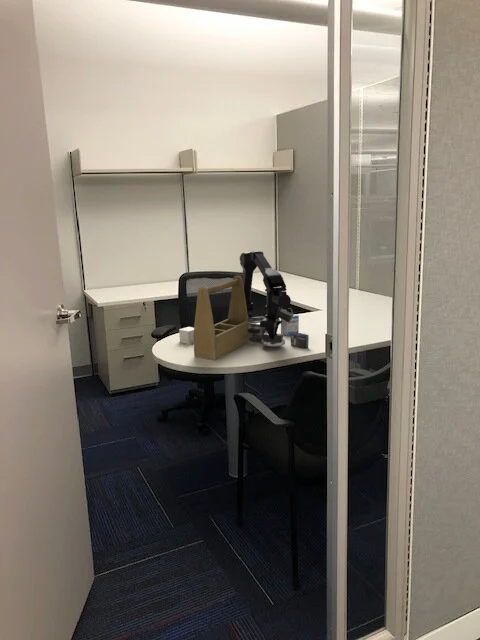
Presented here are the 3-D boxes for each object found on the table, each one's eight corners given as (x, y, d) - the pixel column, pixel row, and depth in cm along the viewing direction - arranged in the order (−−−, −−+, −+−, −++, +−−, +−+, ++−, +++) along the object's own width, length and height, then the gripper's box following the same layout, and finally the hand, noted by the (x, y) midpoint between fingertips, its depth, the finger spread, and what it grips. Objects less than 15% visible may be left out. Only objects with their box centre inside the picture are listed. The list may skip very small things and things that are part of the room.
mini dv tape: (290, 345, 225) (290, 332, 223) (292, 344, 226) (293, 331, 224) (306, 348, 219) (306, 335, 218) (308, 348, 220) (308, 334, 219)
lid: (257, 345, 218) (257, 336, 217) (265, 338, 228) (265, 330, 227) (281, 347, 215) (281, 338, 214) (287, 340, 224) (288, 332, 223)
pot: (239, 341, 231) (239, 324, 229) (253, 331, 248) (252, 314, 246) (268, 344, 226) (268, 326, 224) (280, 333, 243) (280, 316, 241)
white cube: (188, 344, 228) (188, 331, 227) (179, 342, 232) (179, 329, 231) (198, 341, 233) (198, 328, 231) (189, 339, 236) (188, 326, 235)
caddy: (215, 360, 206) (213, 287, 198) (193, 357, 211) (190, 285, 203) (249, 342, 230) (248, 276, 223) (229, 339, 235) (227, 274, 228)
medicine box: (287, 336, 239) (287, 318, 237) (280, 334, 242) (280, 316, 240) (298, 332, 244) (299, 315, 242) (292, 331, 247) (292, 313, 245)
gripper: (285, 309, 206) (285, 346, 209) (297, 300, 223) (296, 334, 226) (259, 307, 209) (259, 343, 213) (272, 298, 226) (272, 332, 230)
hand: (273, 338), depth 221 cm, fingers closed on lid, 3 cm apart
